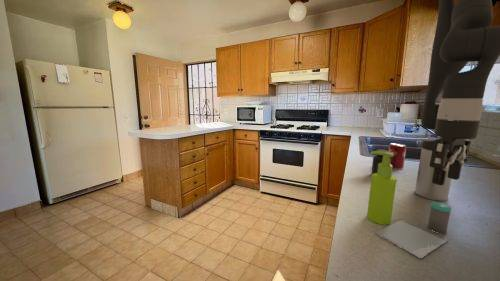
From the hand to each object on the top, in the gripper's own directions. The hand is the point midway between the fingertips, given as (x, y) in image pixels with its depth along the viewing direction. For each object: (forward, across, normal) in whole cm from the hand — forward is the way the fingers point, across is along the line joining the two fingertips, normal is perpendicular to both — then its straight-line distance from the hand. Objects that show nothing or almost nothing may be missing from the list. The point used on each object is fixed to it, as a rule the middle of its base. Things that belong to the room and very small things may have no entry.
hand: (445, 181), depth 54 cm
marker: (+14, 0, 0) cm, 14 cm away
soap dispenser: (+14, +9, -11) cm, 20 cm away
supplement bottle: (+14, -28, -32) cm, 45 cm away
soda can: (+13, -48, -36) cm, 62 cm away
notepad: (+14, +10, -2) cm, 17 cm away
